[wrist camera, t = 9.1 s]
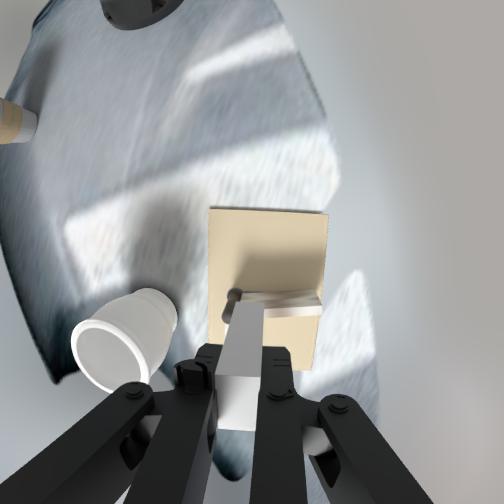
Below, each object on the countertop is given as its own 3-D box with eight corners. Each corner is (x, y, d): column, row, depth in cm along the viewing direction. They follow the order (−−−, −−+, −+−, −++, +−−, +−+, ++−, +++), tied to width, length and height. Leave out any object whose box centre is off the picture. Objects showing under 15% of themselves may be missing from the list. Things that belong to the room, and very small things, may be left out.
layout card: (209, 208, 39) (208, 209, 38) (328, 214, 38) (328, 214, 37) (209, 363, 43) (209, 365, 43) (310, 369, 43) (310, 370, 42)
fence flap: (314, 287, 39) (323, 305, 32) (315, 299, 39) (323, 319, 33) (228, 291, 40) (220, 310, 33) (229, 303, 40) (222, 324, 34)
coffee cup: (49, 125, 37) (-11, 112, 23) (22, 161, 39) (-37, 160, 24) (35, 94, 36) (-18, 78, 21) (9, 129, 38) (-44, 123, 23)
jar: (114, 317, 43) (64, 361, 28) (137, 267, 41) (81, 301, 26) (167, 353, 44) (132, 411, 29) (196, 306, 42) (163, 359, 27)
